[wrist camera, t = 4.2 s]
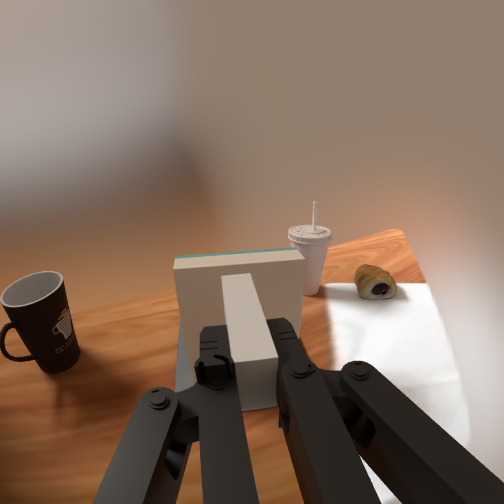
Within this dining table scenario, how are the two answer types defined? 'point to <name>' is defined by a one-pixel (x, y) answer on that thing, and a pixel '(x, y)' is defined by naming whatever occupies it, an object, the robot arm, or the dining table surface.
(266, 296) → the tile
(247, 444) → the robot arm
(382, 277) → the pastry
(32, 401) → the dining table surface
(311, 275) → the smoothie
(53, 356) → the coffee mug
